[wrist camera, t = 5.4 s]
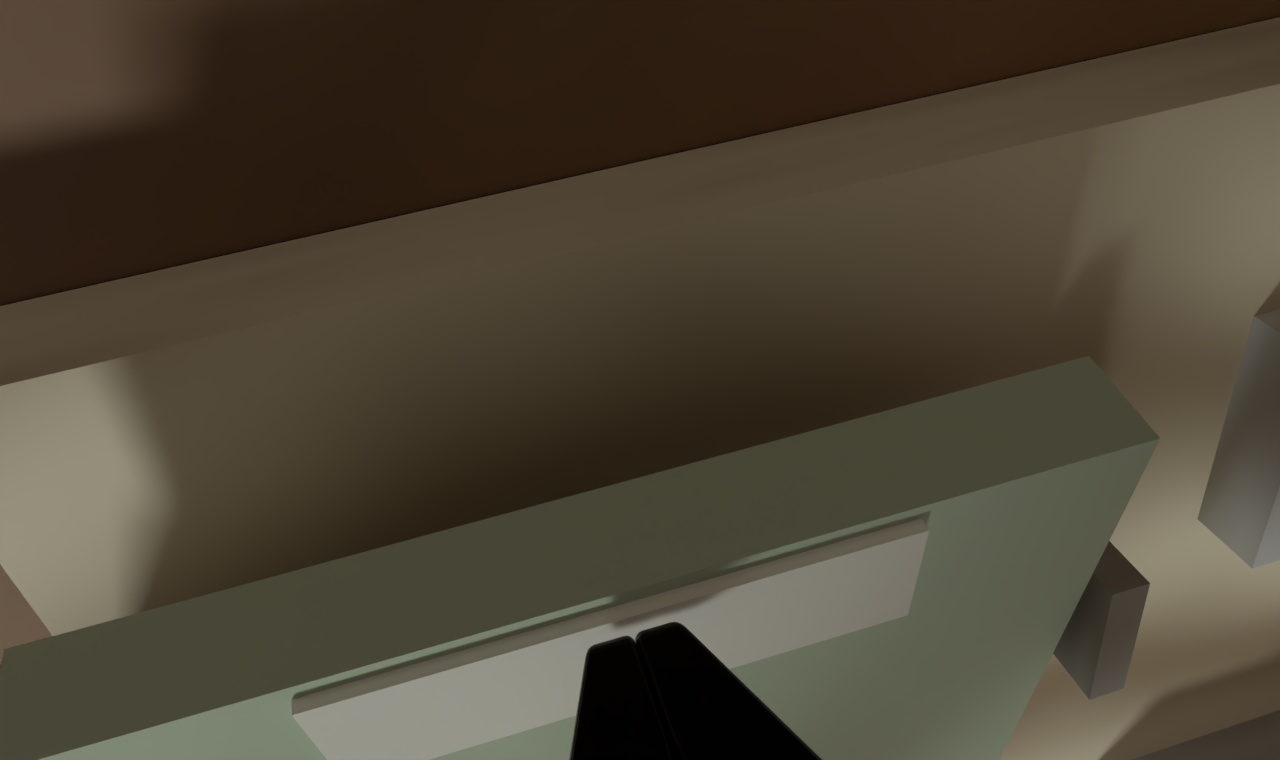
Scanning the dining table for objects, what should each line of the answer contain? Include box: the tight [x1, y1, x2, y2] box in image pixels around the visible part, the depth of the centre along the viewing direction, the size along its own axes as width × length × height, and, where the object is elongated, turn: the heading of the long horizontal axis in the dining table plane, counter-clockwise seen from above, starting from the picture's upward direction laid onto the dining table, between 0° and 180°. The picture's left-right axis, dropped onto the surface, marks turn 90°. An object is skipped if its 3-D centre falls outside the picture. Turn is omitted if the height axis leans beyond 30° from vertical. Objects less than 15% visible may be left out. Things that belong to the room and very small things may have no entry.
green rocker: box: [0, 356, 1160, 760], centre depth 12 cm, size 8×11×1 cm
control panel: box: [0, 17, 1280, 760], centre depth 17 cm, size 23×25×5 cm
